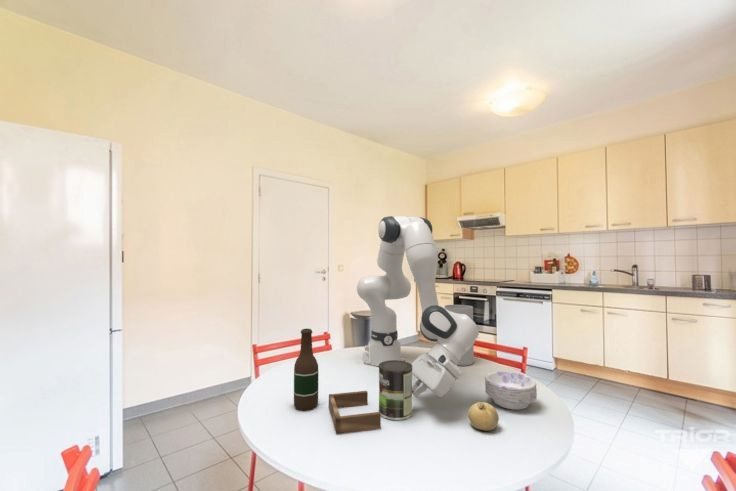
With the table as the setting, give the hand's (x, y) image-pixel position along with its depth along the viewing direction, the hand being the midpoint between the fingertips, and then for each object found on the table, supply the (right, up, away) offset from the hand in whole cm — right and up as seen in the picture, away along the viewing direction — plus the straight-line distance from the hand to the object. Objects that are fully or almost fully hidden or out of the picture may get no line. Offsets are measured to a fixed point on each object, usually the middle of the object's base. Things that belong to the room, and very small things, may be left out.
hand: (412, 394), depth 101 cm
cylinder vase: (+28, -7, +48) cm, 56 cm away
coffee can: (-5, -5, -2) cm, 8 cm away
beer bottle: (-33, -5, +3) cm, 34 cm away
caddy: (-18, -5, -5) cm, 19 cm away
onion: (+18, -5, -10) cm, 21 cm away
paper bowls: (+32, -5, +5) cm, 33 cm away
